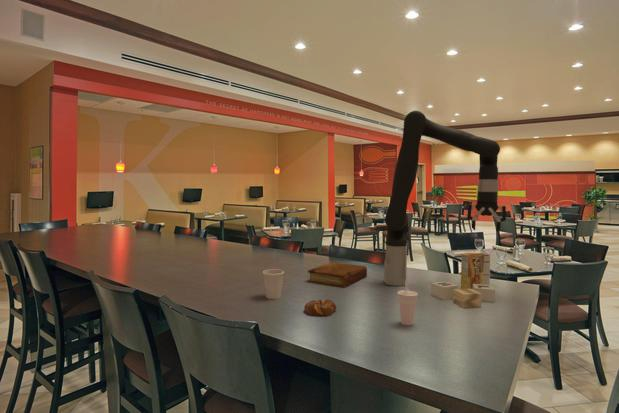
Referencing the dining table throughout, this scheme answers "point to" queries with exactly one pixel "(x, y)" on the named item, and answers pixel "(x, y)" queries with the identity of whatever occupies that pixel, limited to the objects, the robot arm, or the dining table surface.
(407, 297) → the smoothie
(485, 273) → the syrup box
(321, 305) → the brown braided bread bun
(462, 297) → the plain block
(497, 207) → the robot arm
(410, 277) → the dining table surface
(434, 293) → the marked block
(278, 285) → the dixie cup
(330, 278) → the diary
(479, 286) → the marked block
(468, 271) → the candy box
